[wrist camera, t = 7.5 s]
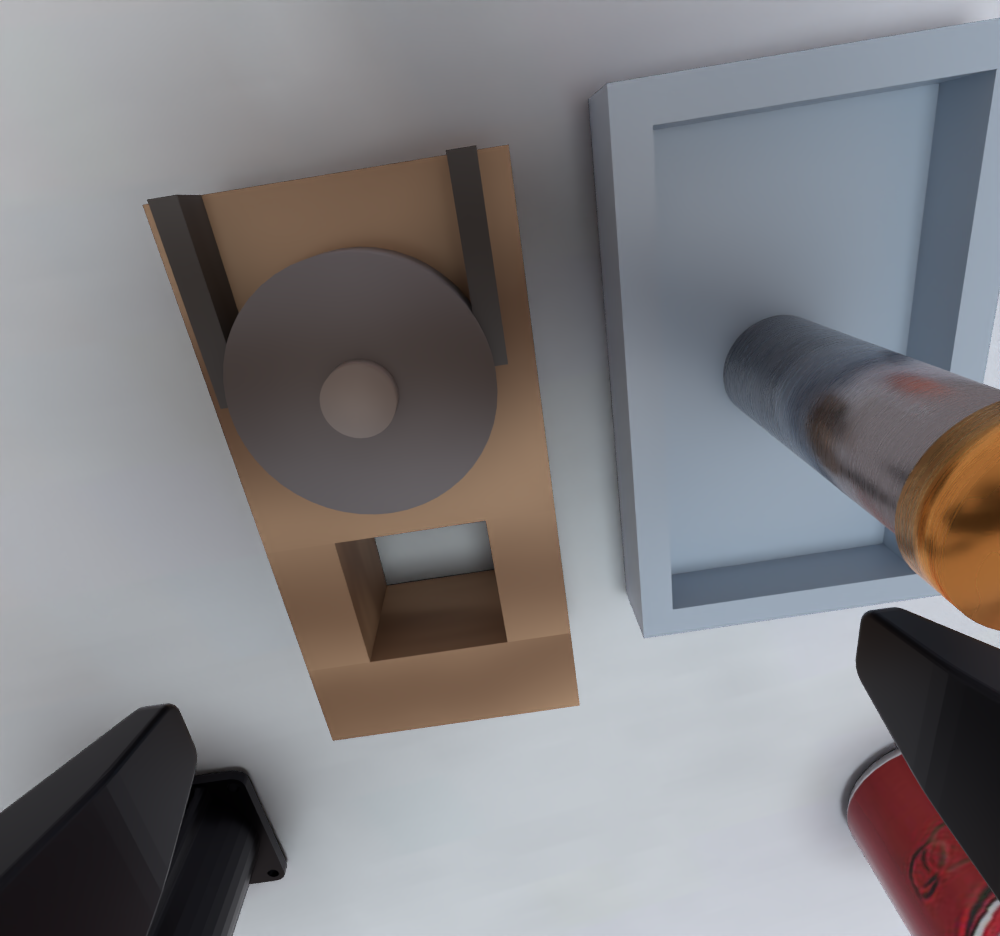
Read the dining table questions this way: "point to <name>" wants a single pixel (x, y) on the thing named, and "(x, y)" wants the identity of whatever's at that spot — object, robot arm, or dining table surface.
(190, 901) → the robot arm
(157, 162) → the dining table surface
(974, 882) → the soda can
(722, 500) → the tray
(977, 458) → the pin
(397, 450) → the tensioner block
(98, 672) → the dining table surface
